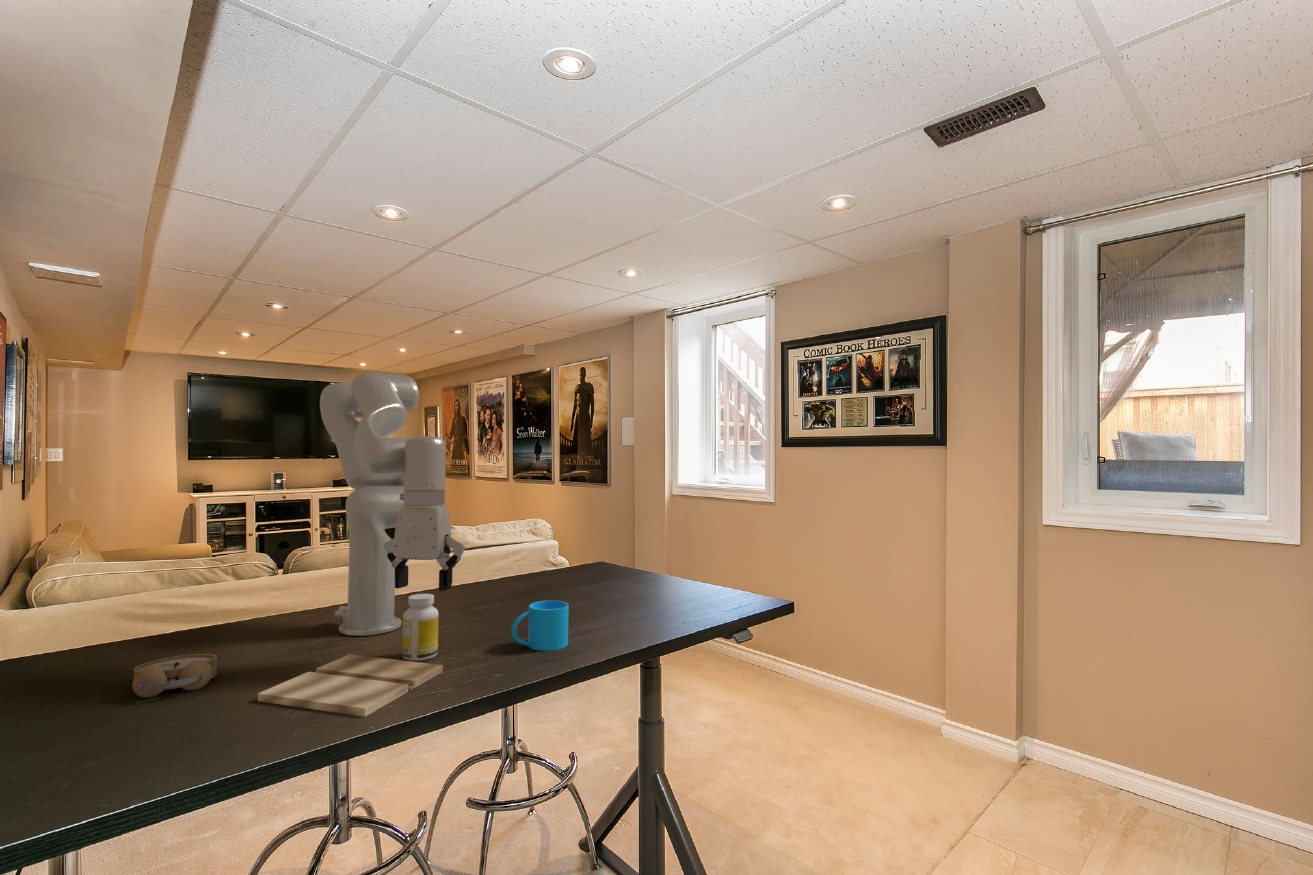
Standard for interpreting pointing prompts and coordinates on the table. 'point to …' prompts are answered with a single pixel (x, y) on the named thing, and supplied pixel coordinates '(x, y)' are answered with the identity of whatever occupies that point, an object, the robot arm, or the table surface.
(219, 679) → the table surface
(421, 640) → the pill bottle
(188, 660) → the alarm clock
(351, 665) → the floor row
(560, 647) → the mug
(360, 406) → the robot arm
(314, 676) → the plank
